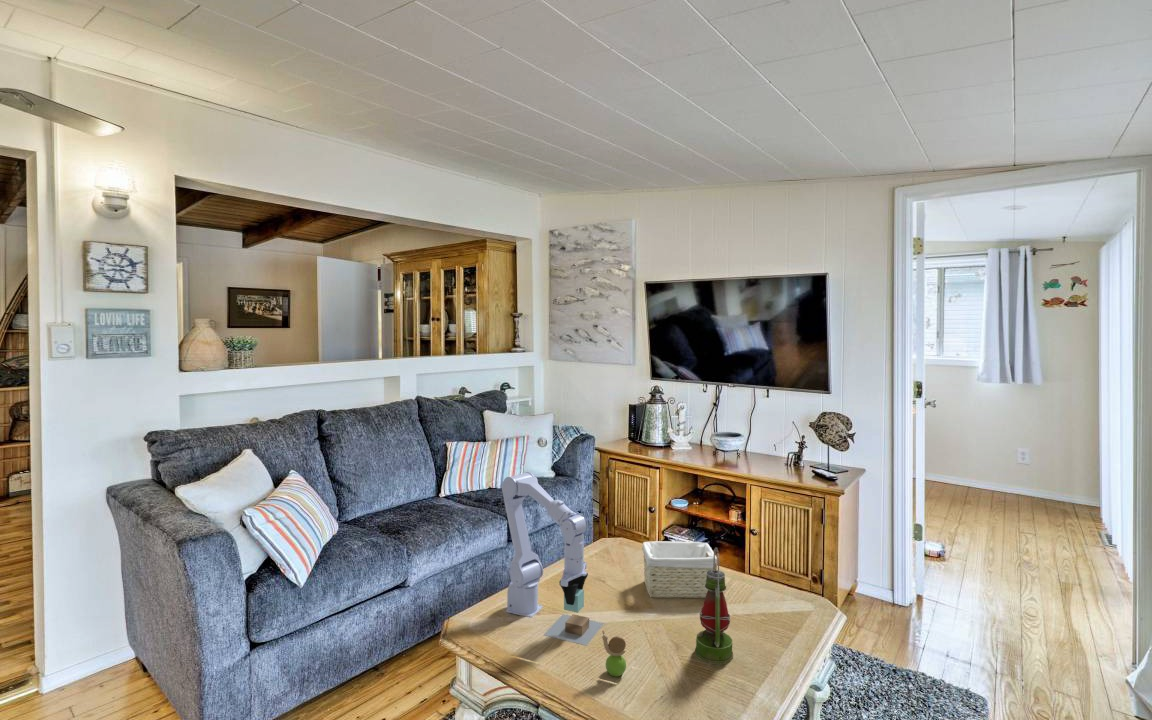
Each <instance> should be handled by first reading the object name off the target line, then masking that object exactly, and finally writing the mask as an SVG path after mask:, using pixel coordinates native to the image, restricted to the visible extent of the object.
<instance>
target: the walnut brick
mask: <svg viewBox="0 0 1152 720" xmlns="http://www.w3.org/2000/svg"><path fill="white" fill-rule="evenodd" d="M570 616H571V617H570V618H569V619H568V620H567V621H566V622H565V632H567V633H571V634H576V635H580V636H583V634H584V633H585V632H586V631H587V629H588V628H589V620H590V617H587V616H583V615H579V614H578V615H577V614H574V613H573V614H572V613H571V615H570Z"/></svg>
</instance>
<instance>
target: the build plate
mask: <svg viewBox="0 0 1152 720" xmlns="http://www.w3.org/2000/svg"><path fill="white" fill-rule="evenodd" d="M571 616H572V615H568V614H563V613H562V614H561V616H560V617H559V618H558V619H556V621H555V622H554V623H553V624H552V625H551V626H550V627H549V628H548V629H547V630H546V631H545V633H544V634H543V636H545V637H549V638H553V639H558V640H562V641H566V642H570V643H574V644H578V645H583V646H588V645H589V644H590V642H591V641H592V640H593V639H594V637H595V636H596V634H597V633H598V632H599V630H600V629H601V628H602V627H603V625H604V624H605V623H604V622H601V621H595V620H591V619H589V628H588V629H587V631H586V632H585V633H584V634H583V636H580V635H576V634H571V633H567V632H565V622H566V621H567V620H568V619H569V618H570V617H571Z"/></svg>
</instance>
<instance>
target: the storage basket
mask: <svg viewBox="0 0 1152 720" xmlns="http://www.w3.org/2000/svg"><path fill="white" fill-rule="evenodd" d="M641 548H642V553H643V567H644V568H643V570H644V584H645V588H646V591H647V593H648V596H649V597H650V598H671V599H672V598H679V599H680V598H682V599H696V598H697V599H700V598H701V599H705V597H706V594H707V591H708V589H706V588H705V584H706V579H707V571H710V570H713V559H714V550H713V549H712V547H711V546H710V544H709V543H708V542H701V541H700V542H699V541H663V540H662V541H661V540H660V541H659V540H657V541H656V540H654V541H653V540H652V541H643V543H642V547H641ZM715 563H716V565H717V566H718V557H717V554H715ZM714 570H715V569H714Z"/></svg>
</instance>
